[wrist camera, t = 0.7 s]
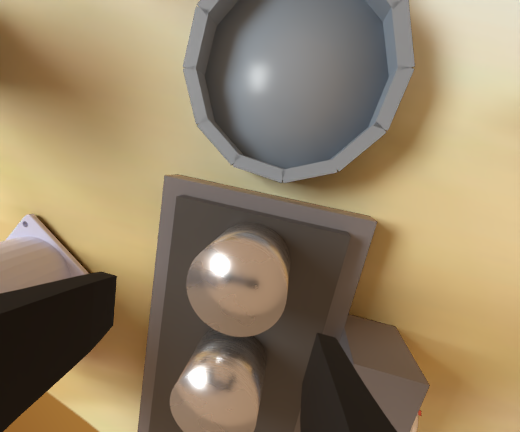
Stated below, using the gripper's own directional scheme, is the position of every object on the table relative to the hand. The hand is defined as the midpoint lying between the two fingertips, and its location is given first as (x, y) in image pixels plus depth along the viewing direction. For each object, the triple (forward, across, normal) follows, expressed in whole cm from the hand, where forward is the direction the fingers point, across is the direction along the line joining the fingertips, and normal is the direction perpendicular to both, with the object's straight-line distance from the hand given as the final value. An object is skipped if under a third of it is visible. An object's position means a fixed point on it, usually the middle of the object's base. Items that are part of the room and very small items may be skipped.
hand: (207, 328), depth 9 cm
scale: (+10, -3, +8) cm, 13 cm away
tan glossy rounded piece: (+8, 0, 0) cm, 8 cm away
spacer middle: (+8, 0, +8) cm, 11 cm away
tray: (+10, 0, -11) cm, 15 cm away
